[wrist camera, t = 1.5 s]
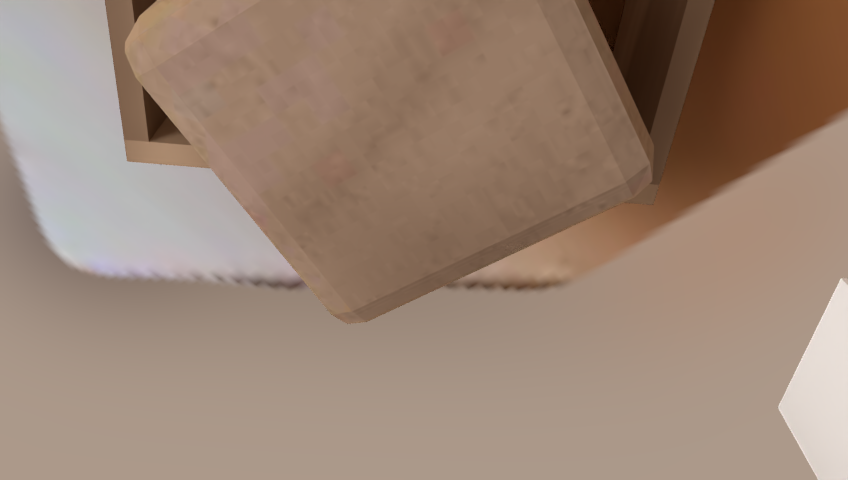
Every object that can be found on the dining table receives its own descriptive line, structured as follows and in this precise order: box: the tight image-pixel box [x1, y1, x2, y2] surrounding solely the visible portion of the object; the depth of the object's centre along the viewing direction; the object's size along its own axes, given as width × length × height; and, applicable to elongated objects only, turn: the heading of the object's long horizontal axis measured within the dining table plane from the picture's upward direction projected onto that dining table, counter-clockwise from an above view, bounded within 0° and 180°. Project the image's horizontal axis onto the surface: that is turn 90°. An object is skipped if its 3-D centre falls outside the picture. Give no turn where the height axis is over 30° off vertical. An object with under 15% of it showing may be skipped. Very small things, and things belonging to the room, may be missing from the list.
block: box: [125, 0, 654, 324], centre depth 26 cm, size 10×10×20 cm
